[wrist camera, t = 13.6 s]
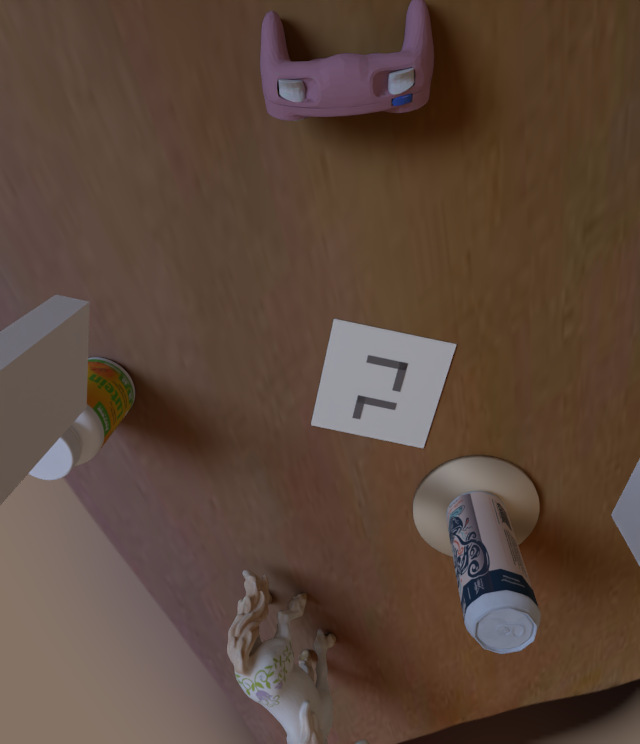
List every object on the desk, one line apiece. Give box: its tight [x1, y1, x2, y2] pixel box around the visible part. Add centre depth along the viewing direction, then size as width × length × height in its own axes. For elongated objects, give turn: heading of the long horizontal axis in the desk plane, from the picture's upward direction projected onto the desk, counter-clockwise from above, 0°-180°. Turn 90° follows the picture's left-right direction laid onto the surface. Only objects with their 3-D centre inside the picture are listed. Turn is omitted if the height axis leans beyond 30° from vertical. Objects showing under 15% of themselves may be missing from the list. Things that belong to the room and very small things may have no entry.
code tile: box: [311, 319, 457, 448], centre depth 45 cm, size 9×9×1 cm
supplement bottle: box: [29, 357, 135, 480], centre depth 43 cm, size 5×5×10 cm
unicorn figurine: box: [227, 570, 370, 744], centre depth 51 cm, size 7×20×13 cm, turn 48°
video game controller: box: [260, 0, 434, 121], centre depth 34 cm, size 10×5×7 cm, turn 94°
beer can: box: [446, 491, 540, 654], centre depth 44 cm, size 5×5×12 cm
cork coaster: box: [413, 455, 540, 557], centre depth 49 cm, size 10×10×1 cm
